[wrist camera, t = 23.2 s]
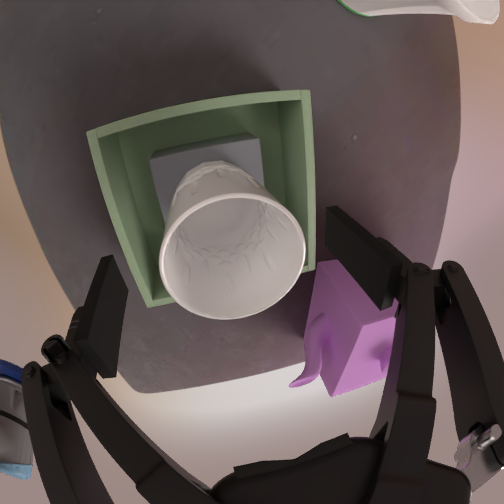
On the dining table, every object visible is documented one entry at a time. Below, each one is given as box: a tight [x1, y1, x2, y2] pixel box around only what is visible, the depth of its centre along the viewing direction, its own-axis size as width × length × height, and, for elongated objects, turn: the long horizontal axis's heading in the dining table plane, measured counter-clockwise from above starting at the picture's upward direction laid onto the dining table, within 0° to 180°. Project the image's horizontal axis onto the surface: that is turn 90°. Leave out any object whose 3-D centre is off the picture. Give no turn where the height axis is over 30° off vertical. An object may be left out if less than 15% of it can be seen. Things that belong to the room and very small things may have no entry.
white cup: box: [159, 160, 306, 319], centre depth 19 cm, size 8×8×10 cm
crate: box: [86, 90, 316, 308], centre depth 24 cm, size 17×17×7 cm
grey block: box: [149, 133, 265, 225], centre depth 24 cm, size 9×9×4 cm
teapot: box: [289, 259, 399, 397], centre depth 34 cm, size 15×25×14 cm, turn 89°
